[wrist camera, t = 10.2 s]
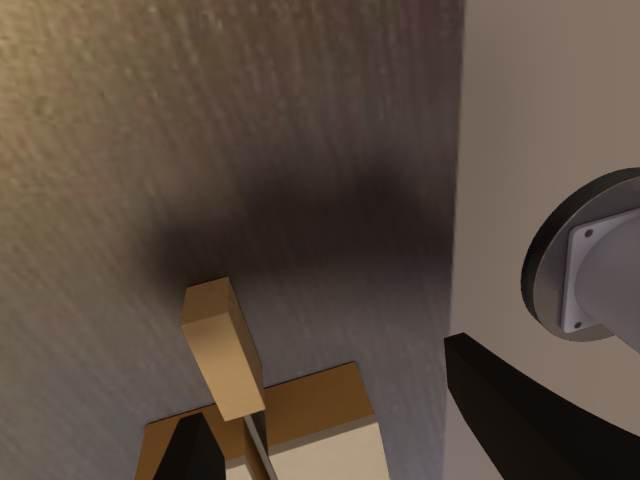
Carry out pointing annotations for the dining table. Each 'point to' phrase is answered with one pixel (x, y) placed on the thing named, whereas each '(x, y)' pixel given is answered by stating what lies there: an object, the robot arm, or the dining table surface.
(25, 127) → the dining table surface
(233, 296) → the knife
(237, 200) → the dining table surface
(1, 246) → the dining table surface
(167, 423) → the sponge cake
